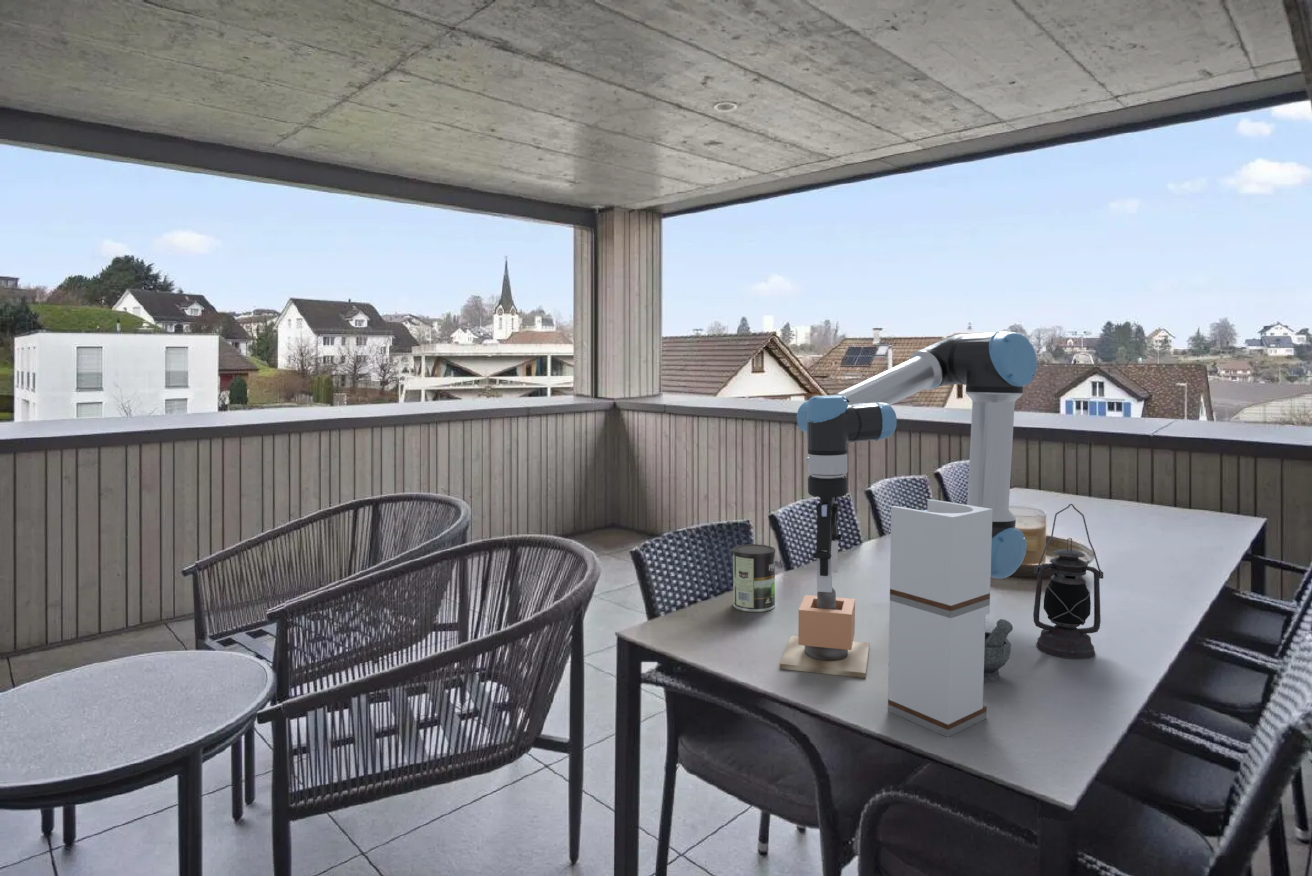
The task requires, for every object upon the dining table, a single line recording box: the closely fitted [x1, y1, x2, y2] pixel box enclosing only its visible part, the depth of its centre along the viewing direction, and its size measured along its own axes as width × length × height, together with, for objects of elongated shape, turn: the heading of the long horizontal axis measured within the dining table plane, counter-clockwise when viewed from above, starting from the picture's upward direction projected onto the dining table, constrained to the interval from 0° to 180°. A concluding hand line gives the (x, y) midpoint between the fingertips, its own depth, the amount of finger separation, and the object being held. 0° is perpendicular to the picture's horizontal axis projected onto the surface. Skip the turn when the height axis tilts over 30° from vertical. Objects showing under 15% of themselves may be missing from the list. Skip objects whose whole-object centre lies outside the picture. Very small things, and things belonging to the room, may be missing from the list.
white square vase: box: [887, 498, 993, 738], centre depth 126 cm, size 11×11×35 cm
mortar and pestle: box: [983, 618, 1014, 683], centre depth 143 cm, size 11×9×12 cm
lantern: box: [1032, 503, 1104, 660], centre depth 155 cm, size 12×11×30 cm
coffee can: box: [731, 543, 776, 613], centre depth 186 cm, size 10×10×14 cm
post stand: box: [779, 586, 870, 679], centre depth 152 cm, size 16×16×15 cm
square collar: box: [797, 594, 856, 650], centre depth 152 cm, size 10×10×7 cm
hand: (828, 581), depth 152 cm, fingers open, 13 cm apart
